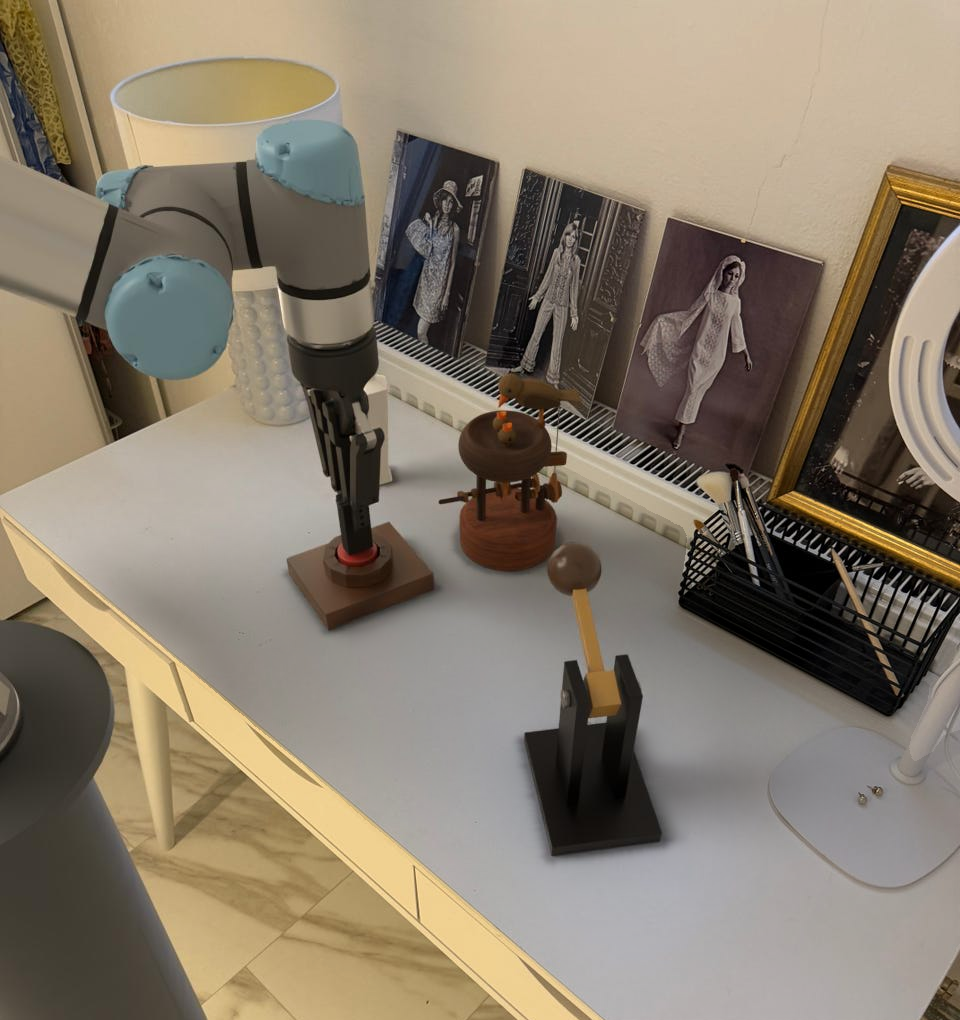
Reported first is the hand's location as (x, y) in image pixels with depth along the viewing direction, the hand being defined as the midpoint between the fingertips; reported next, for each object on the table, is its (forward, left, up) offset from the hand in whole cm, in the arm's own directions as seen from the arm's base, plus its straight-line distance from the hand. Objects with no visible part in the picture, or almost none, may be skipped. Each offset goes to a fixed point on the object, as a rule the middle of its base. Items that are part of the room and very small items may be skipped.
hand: (358, 547), depth 97 cm
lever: (+7, -28, +7) cm, 30 cm away
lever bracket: (+5, -34, -5) cm, 35 cm away
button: (0, 0, -2) cm, 2 cm away
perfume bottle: (+10, +16, -5) cm, 19 cm away
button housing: (0, 0, -5) cm, 5 cm away
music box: (+16, -2, -5) cm, 17 cm away
